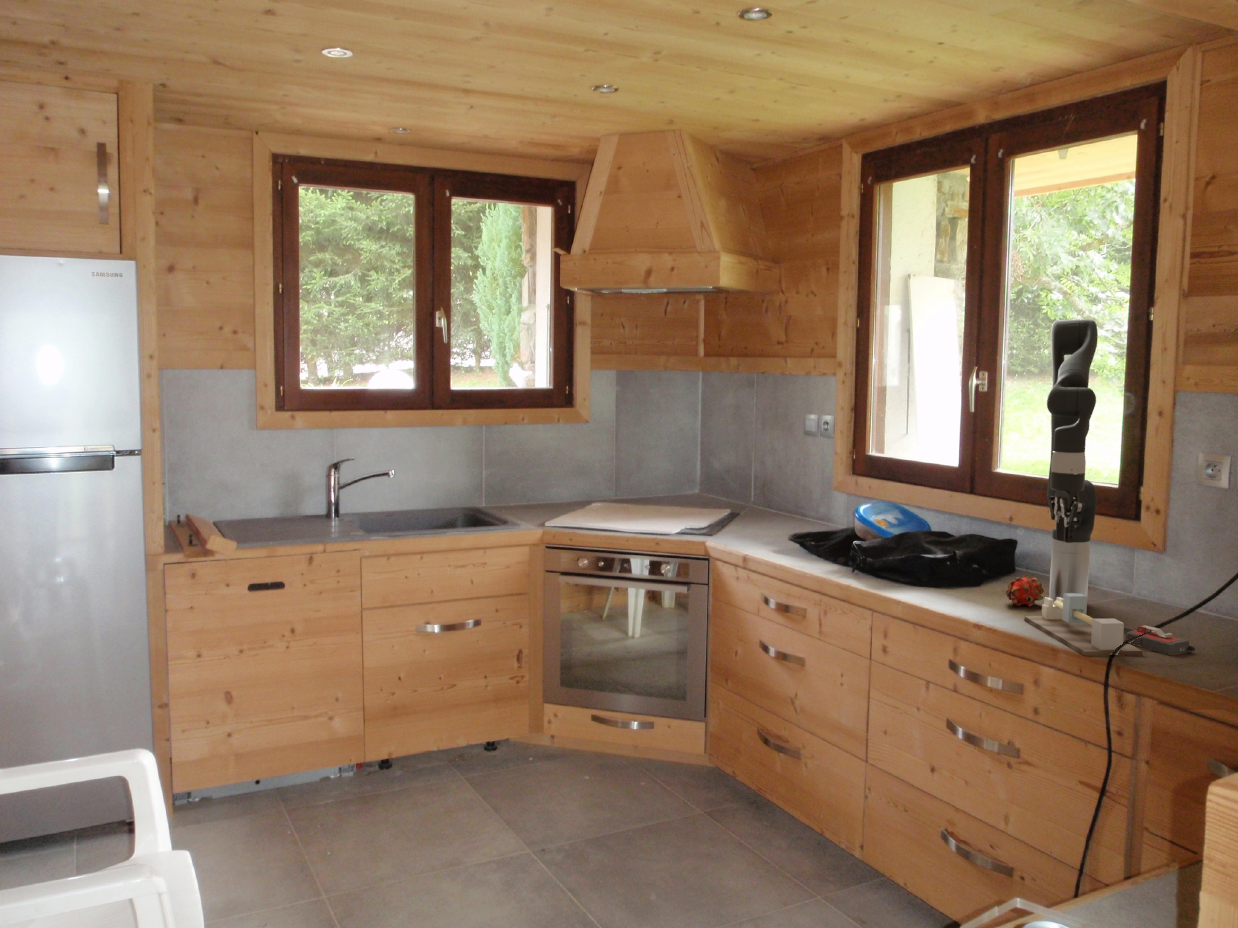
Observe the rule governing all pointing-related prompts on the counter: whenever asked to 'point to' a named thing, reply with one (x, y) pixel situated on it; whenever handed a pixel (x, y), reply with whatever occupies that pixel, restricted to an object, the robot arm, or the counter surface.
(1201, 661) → the counter surface
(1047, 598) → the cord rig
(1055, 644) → the counter surface
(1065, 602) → the sleeve
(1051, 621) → the board
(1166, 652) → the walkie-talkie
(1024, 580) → the dragon fruit
